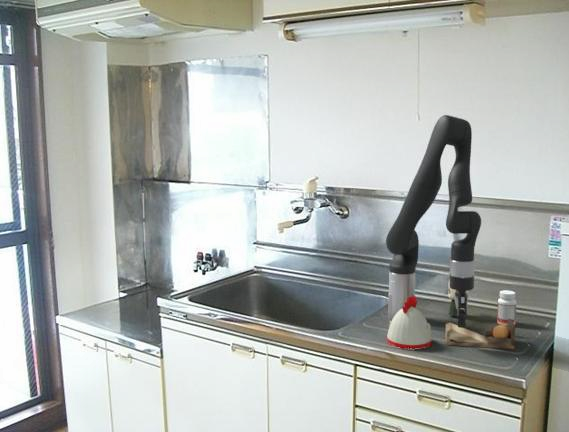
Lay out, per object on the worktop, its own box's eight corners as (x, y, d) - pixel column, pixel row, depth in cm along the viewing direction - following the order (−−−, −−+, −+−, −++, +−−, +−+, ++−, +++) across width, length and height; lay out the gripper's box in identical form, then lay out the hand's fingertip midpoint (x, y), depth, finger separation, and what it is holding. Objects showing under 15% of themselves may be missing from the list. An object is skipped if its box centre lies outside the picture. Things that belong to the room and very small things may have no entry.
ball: (502, 346, 197) (490, 335, 197) (499, 341, 201) (488, 330, 202) (514, 335, 195) (502, 324, 196) (511, 330, 200) (500, 319, 201)
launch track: (446, 350, 199) (447, 323, 197) (445, 341, 207) (445, 315, 206) (514, 354, 194) (515, 327, 193) (510, 345, 203) (511, 318, 202)
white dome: (438, 341, 202) (439, 296, 200) (418, 353, 192) (419, 305, 190) (400, 332, 211) (401, 289, 209) (379, 343, 201) (379, 298, 199)
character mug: (451, 310, 234) (452, 277, 233) (471, 313, 231) (472, 279, 229) (444, 318, 225) (444, 283, 223) (464, 321, 222) (465, 285, 220)
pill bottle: (503, 319, 223) (504, 288, 222) (519, 323, 219) (520, 292, 217) (493, 323, 219) (494, 291, 218) (509, 327, 215) (510, 295, 213)
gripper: (448, 268, 206) (447, 315, 208) (450, 278, 192) (449, 329, 195) (472, 269, 205) (470, 317, 207) (476, 279, 191) (474, 330, 193)
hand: (460, 323), depth 201 cm, fingers open, 8 cm apart
